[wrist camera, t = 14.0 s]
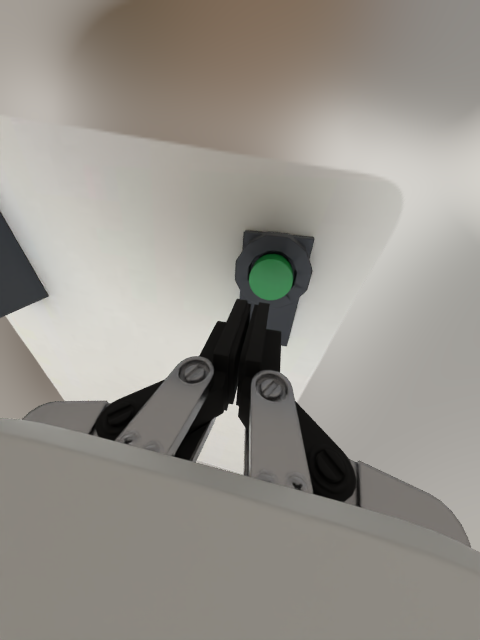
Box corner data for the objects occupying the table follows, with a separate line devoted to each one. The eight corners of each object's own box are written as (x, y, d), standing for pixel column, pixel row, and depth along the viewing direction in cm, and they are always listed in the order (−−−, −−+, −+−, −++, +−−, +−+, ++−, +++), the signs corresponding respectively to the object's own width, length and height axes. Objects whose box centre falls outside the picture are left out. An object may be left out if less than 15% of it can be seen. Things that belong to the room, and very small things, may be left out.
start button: (253, 251, 16) (250, 256, 15) (296, 256, 16) (297, 262, 15) (250, 289, 18) (247, 297, 17) (288, 295, 18) (288, 303, 17)
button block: (242, 227, 17) (236, 232, 15) (317, 234, 17) (321, 240, 14) (236, 332, 24) (232, 345, 22) (288, 342, 24) (288, 356, 22)
